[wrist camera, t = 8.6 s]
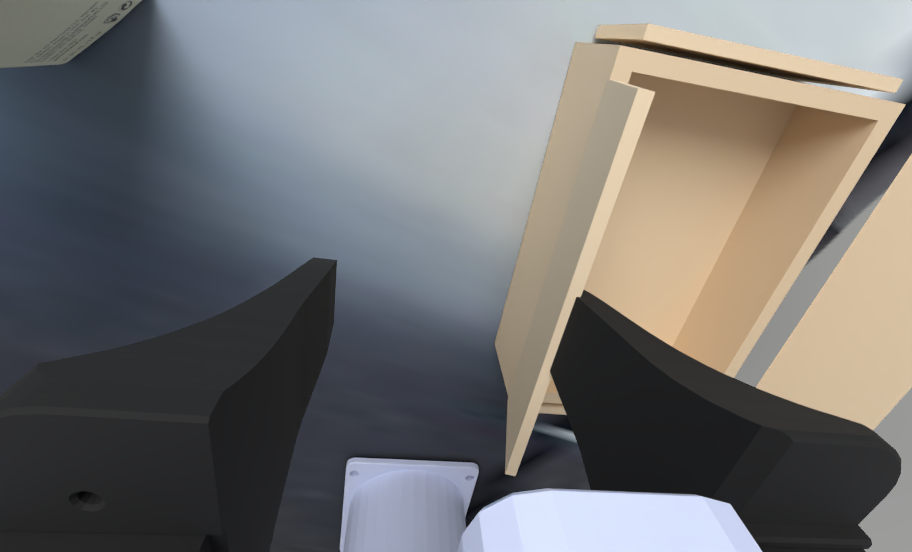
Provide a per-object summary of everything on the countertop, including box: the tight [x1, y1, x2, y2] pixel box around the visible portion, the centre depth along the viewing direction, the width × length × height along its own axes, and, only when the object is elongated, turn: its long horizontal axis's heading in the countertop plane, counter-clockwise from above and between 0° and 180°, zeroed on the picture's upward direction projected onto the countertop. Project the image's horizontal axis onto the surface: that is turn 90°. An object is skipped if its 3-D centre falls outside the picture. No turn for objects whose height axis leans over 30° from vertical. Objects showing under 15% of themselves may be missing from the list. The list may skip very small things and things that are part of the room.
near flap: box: [505, 79, 655, 476], centre depth 13 cm, size 12×4×1 cm
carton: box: [495, 24, 905, 415], centre depth 18 cm, size 15×10×4 cm, turn 170°
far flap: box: [756, 154, 912, 430], centre depth 15 cm, size 12×4×1 cm
